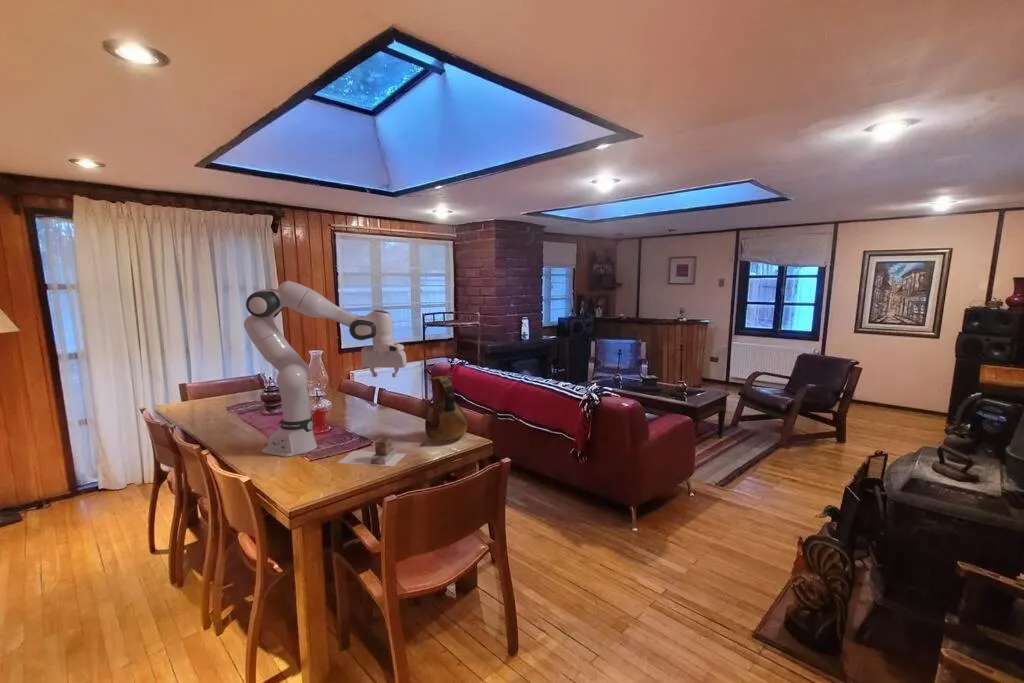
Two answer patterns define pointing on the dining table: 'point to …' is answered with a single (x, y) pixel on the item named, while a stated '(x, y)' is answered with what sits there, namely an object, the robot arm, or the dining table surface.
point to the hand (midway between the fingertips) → (384, 376)
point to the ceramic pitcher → (445, 413)
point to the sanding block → (383, 451)
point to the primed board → (368, 458)
